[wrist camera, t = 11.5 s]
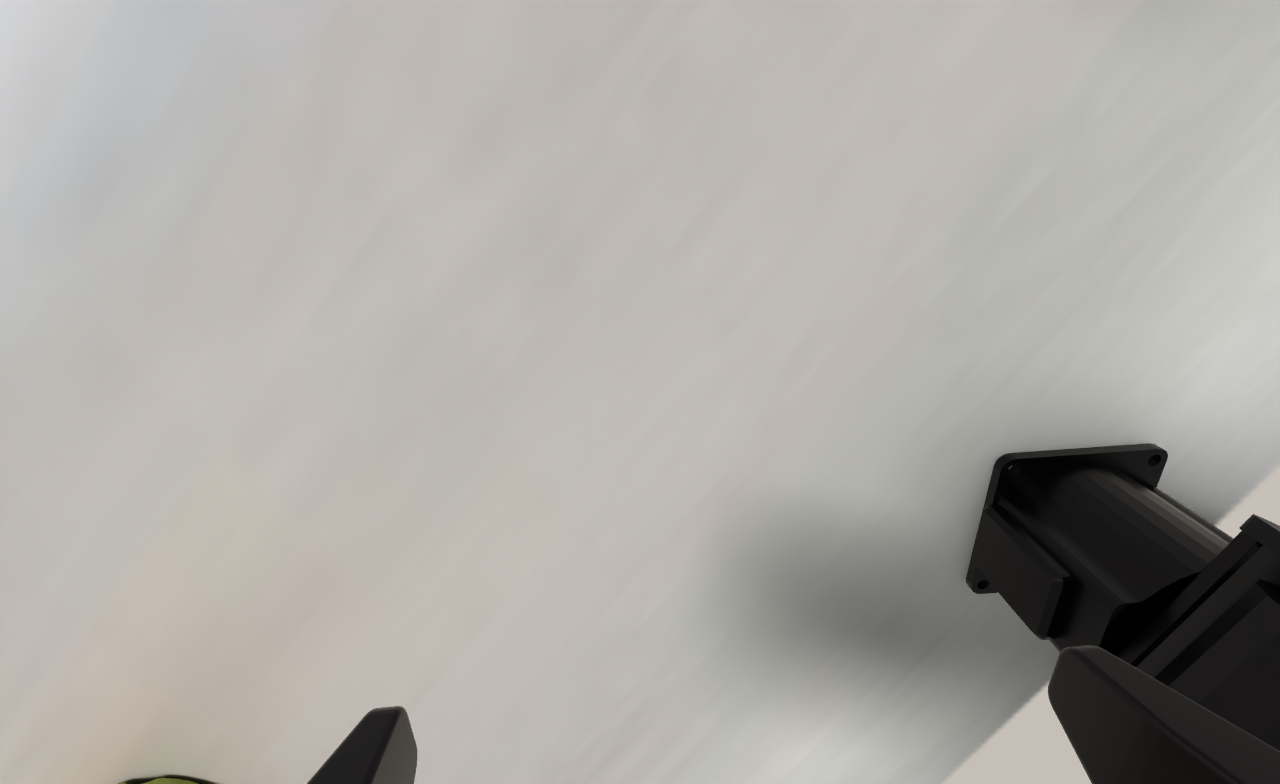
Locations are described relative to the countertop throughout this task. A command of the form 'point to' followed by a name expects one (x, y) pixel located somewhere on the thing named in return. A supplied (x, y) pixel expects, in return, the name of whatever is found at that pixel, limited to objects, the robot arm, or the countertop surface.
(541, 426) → the countertop surface
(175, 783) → the plant pot
